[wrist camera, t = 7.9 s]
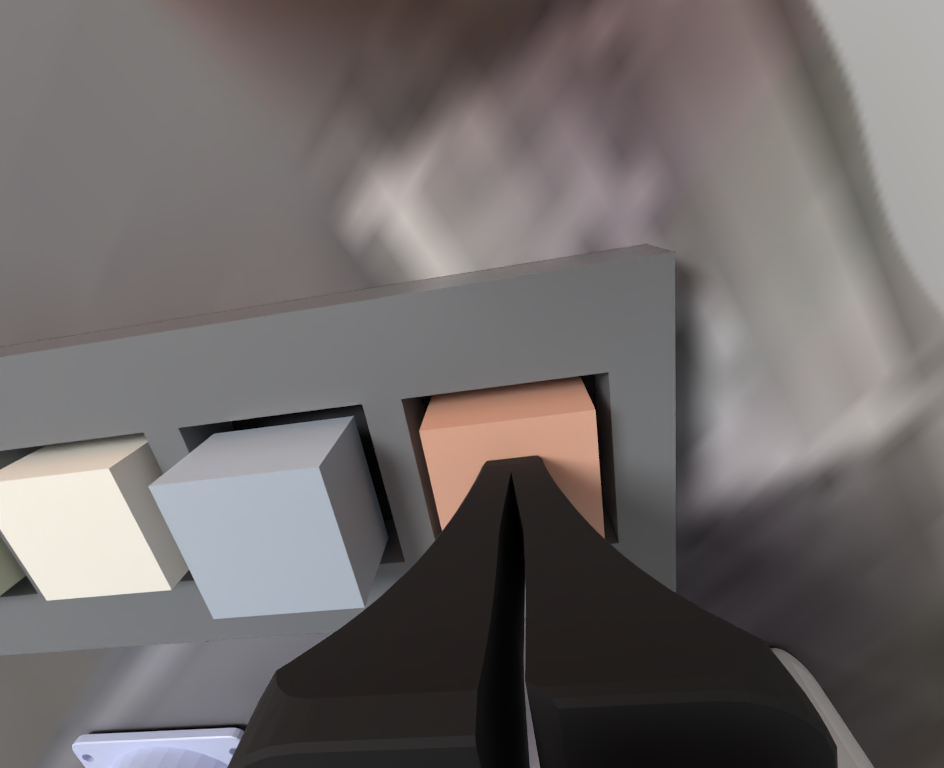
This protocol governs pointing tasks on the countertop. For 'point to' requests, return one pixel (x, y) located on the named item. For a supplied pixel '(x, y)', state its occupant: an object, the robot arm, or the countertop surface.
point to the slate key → (277, 519)
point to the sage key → (8, 569)
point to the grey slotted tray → (352, 383)
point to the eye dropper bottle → (826, 714)
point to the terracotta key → (514, 440)
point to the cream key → (89, 519)
